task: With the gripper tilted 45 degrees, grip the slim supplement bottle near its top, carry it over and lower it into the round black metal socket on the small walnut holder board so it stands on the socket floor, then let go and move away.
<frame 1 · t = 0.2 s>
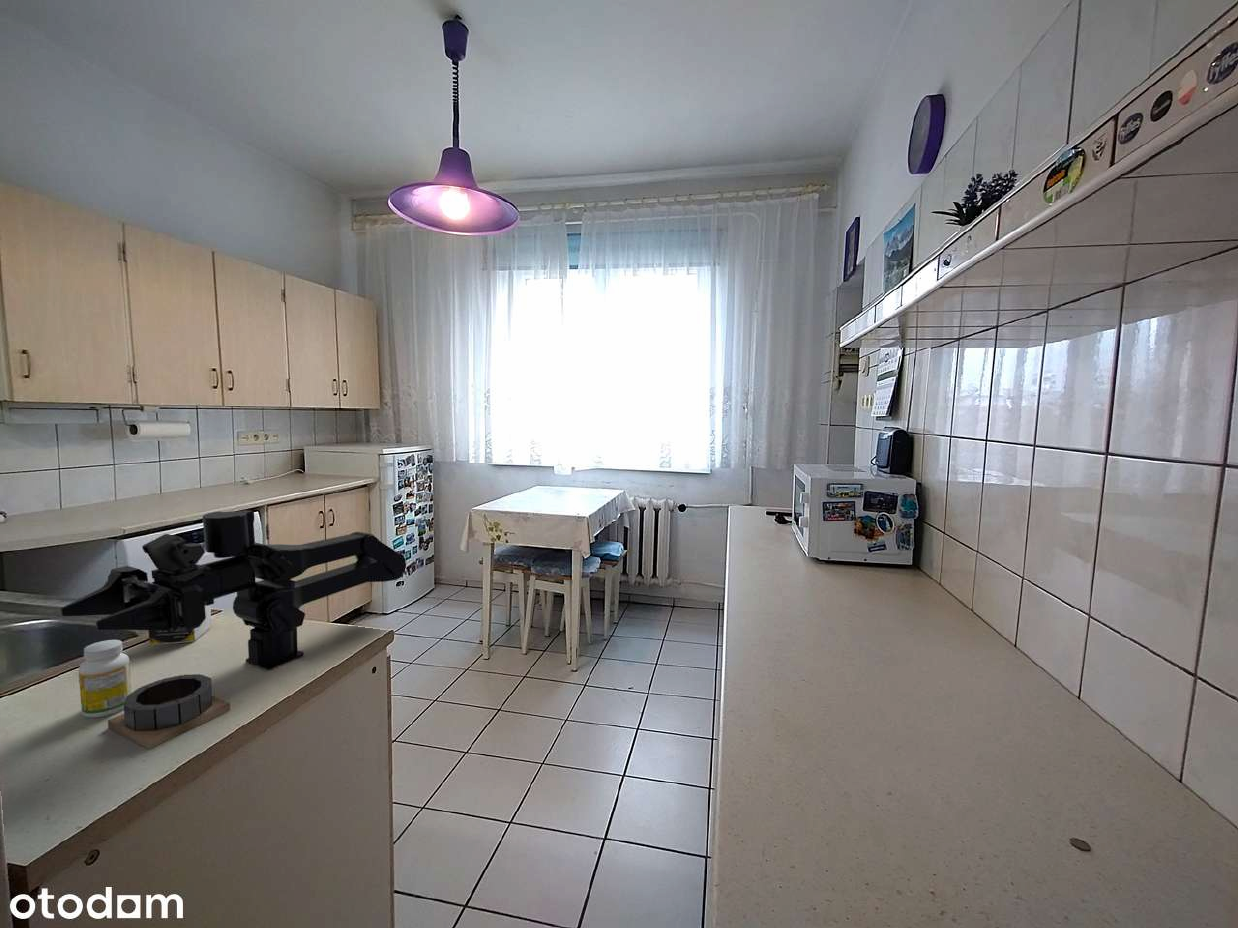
hand: (78, 618, 70), 17 cm above the countertop, tool horizontal, fingers open, 9 cm apart
supplement bottle: (107, 709, 79), on the countertop
socket holder: (171, 718, 76), on the countertop
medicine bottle: (181, 637, 102), on the countertop
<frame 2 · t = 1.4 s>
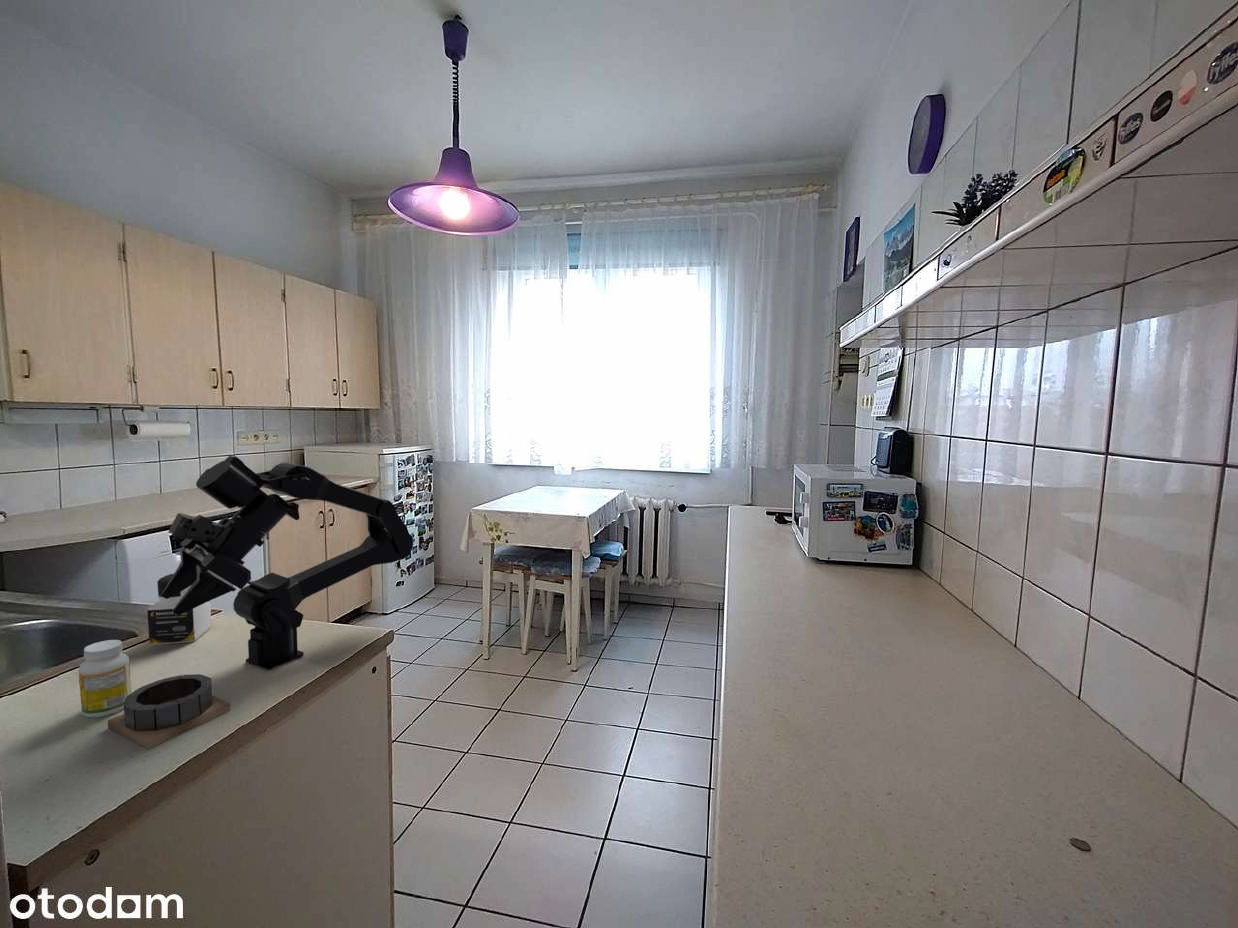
hand: (169, 605, 83), 14 cm above the countertop, tool tilted 45°, fingers open, 9 cm apart
nothing on the countertop moved.
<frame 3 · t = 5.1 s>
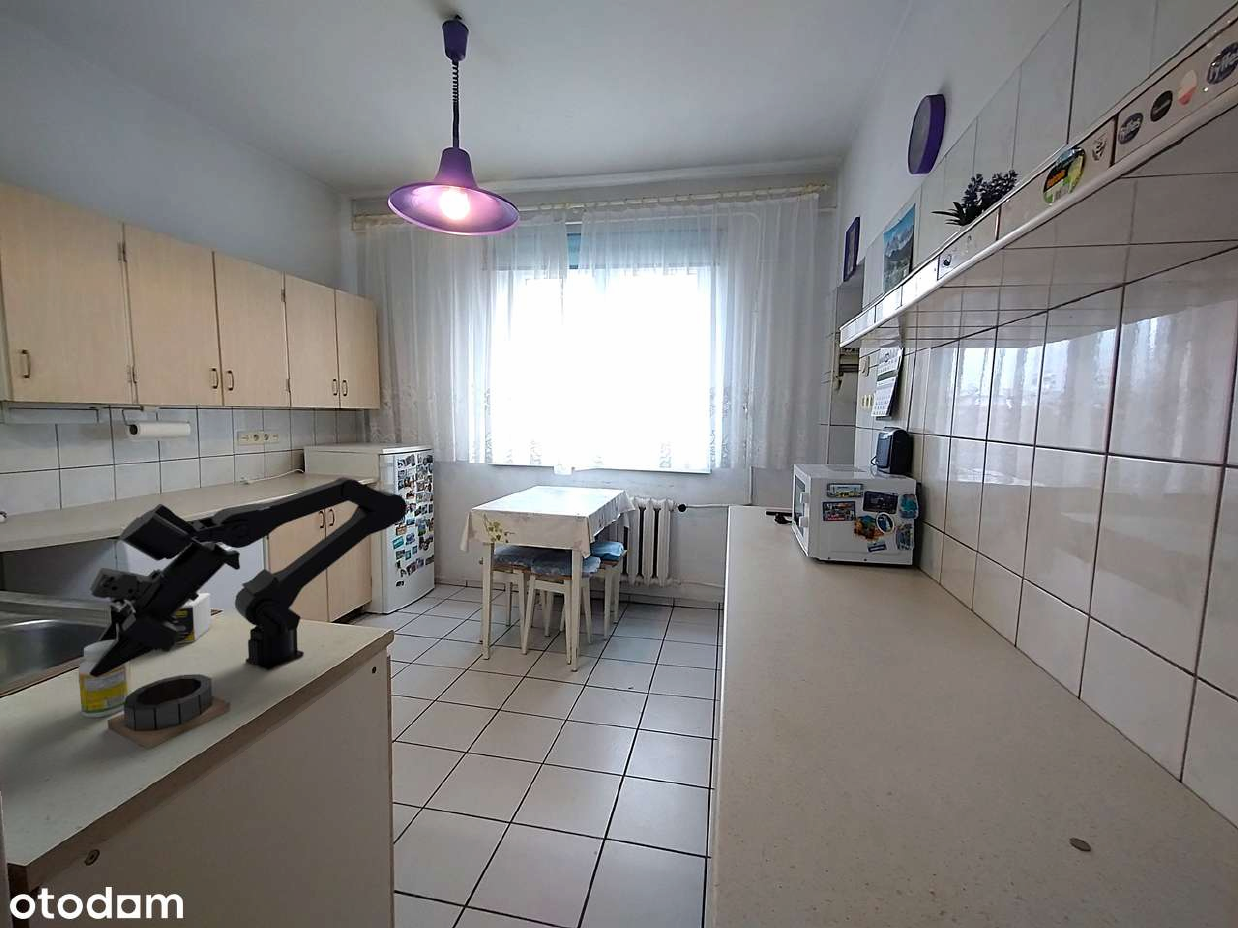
hand: (90, 668, 77), 7 cm above the countertop, tool tilted 45°, fingers closed on supplement bottle, 5 cm apart
supplement bottle: (107, 709, 79), on the countertop, touching gripper
everything else where it was.
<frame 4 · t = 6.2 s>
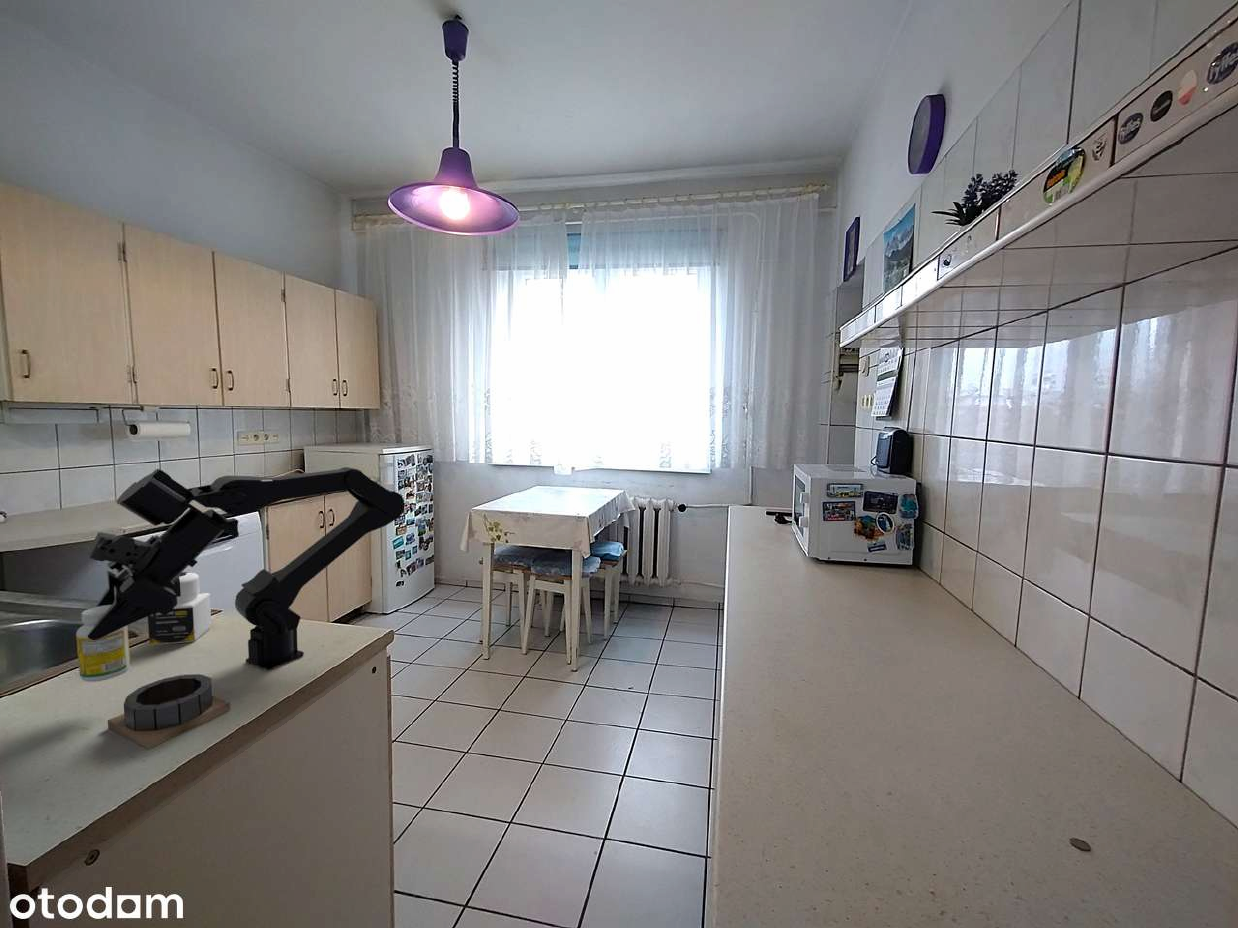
hand: (88, 632, 76), 12 cm above the countertop, tool tilted 45°, fingers closed on supplement bottle, 5 cm apart
supplement bottle: (105, 674, 78), point 5 cm above the countertop, touching gripper
everything else where it was.
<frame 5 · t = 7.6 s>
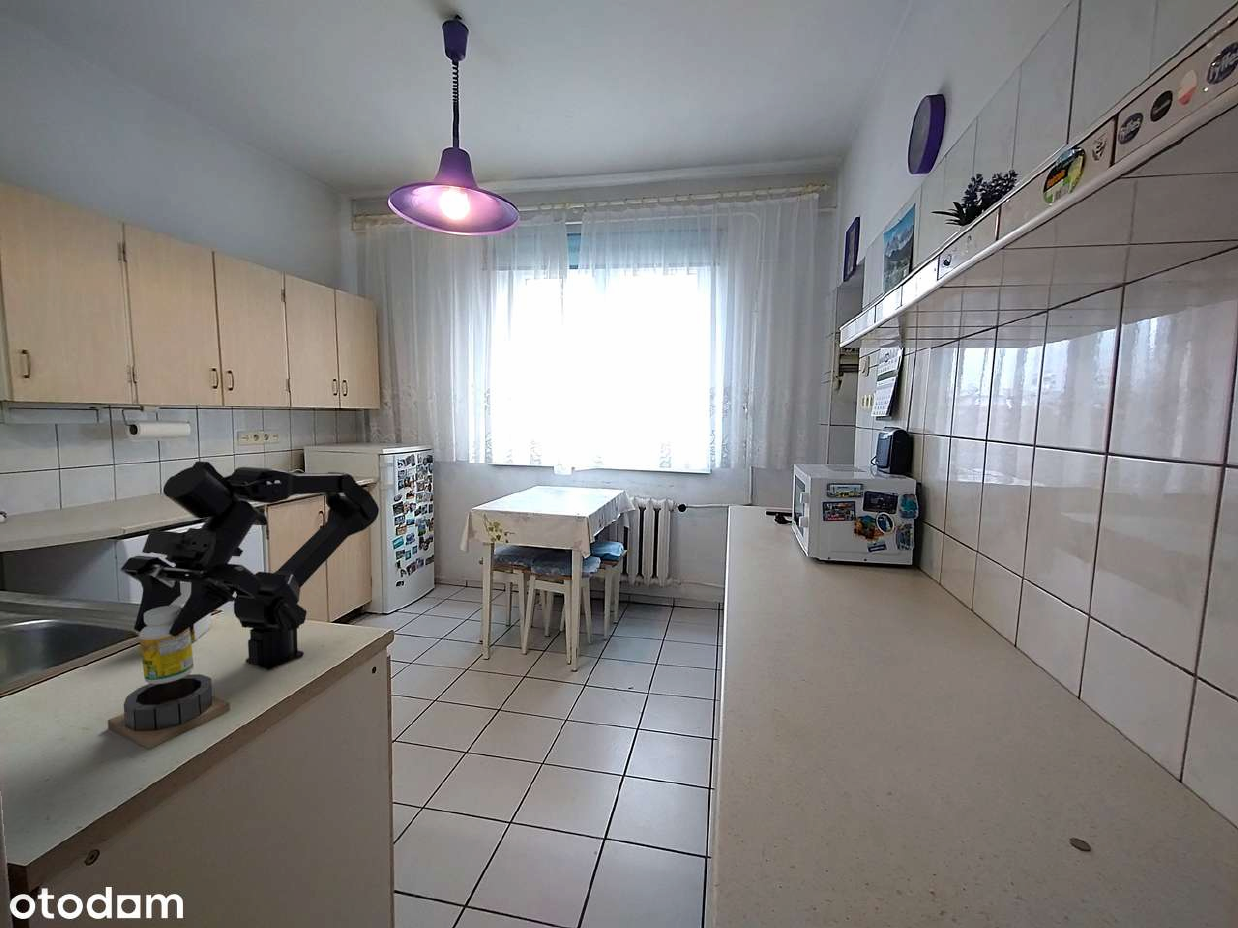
hand: (154, 633, 74), 13 cm above the countertop, tool tilted 45°, fingers closed on supplement bottle, 5 cm apart
supplement bottle: (170, 676, 76), point 6 cm above the countertop, touching gripper
everything else where it was.
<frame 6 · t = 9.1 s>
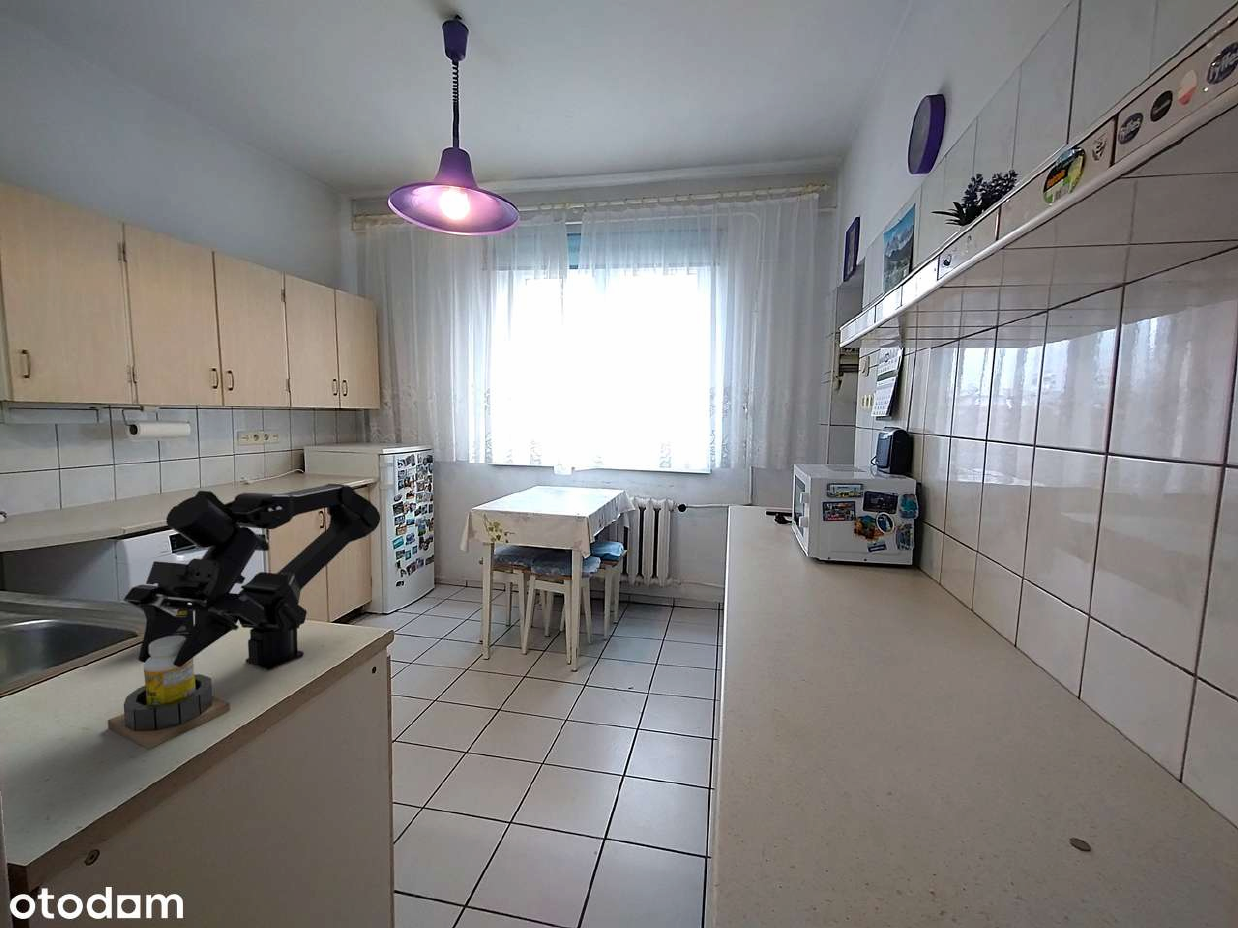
hand: (159, 663, 74), 9 cm above the countertop, tool tilted 45°, fingers closed on supplement bottle, 5 cm apart
supplement bottle: (172, 706, 77), point 2 cm above the countertop, touching gripper
everything else where it was.
when the fingers open (9 cm above the countertop, at t = 10.3 s): supplement bottle stays where it is, resting on socket holder.
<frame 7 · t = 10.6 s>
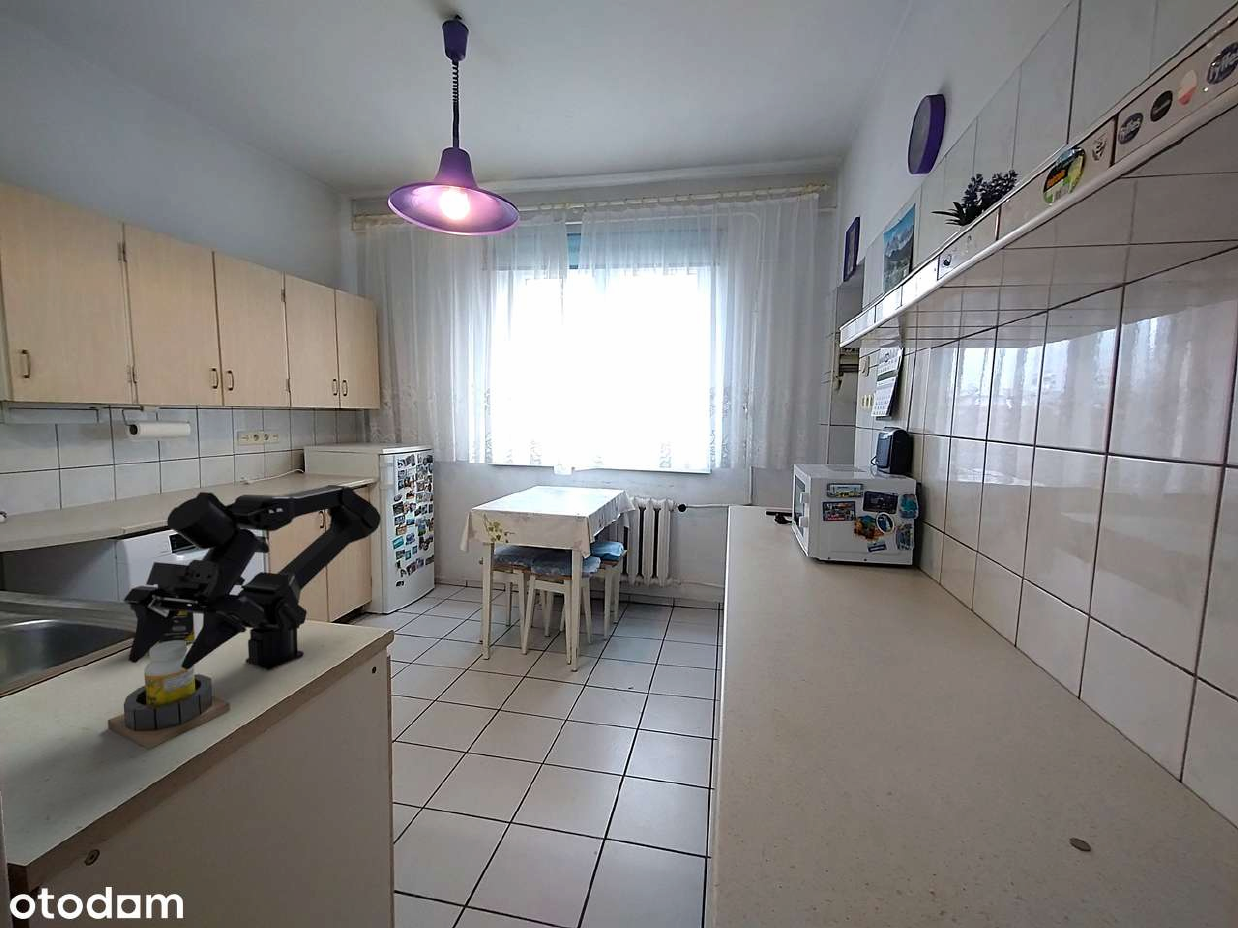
hand: (157, 664, 74), 9 cm above the countertop, tool tilted 45°, fingers open, 8 cm apart
supplement bottle: (172, 711, 77), point 1 cm above the countertop, touching socket holder
everything else where it was.
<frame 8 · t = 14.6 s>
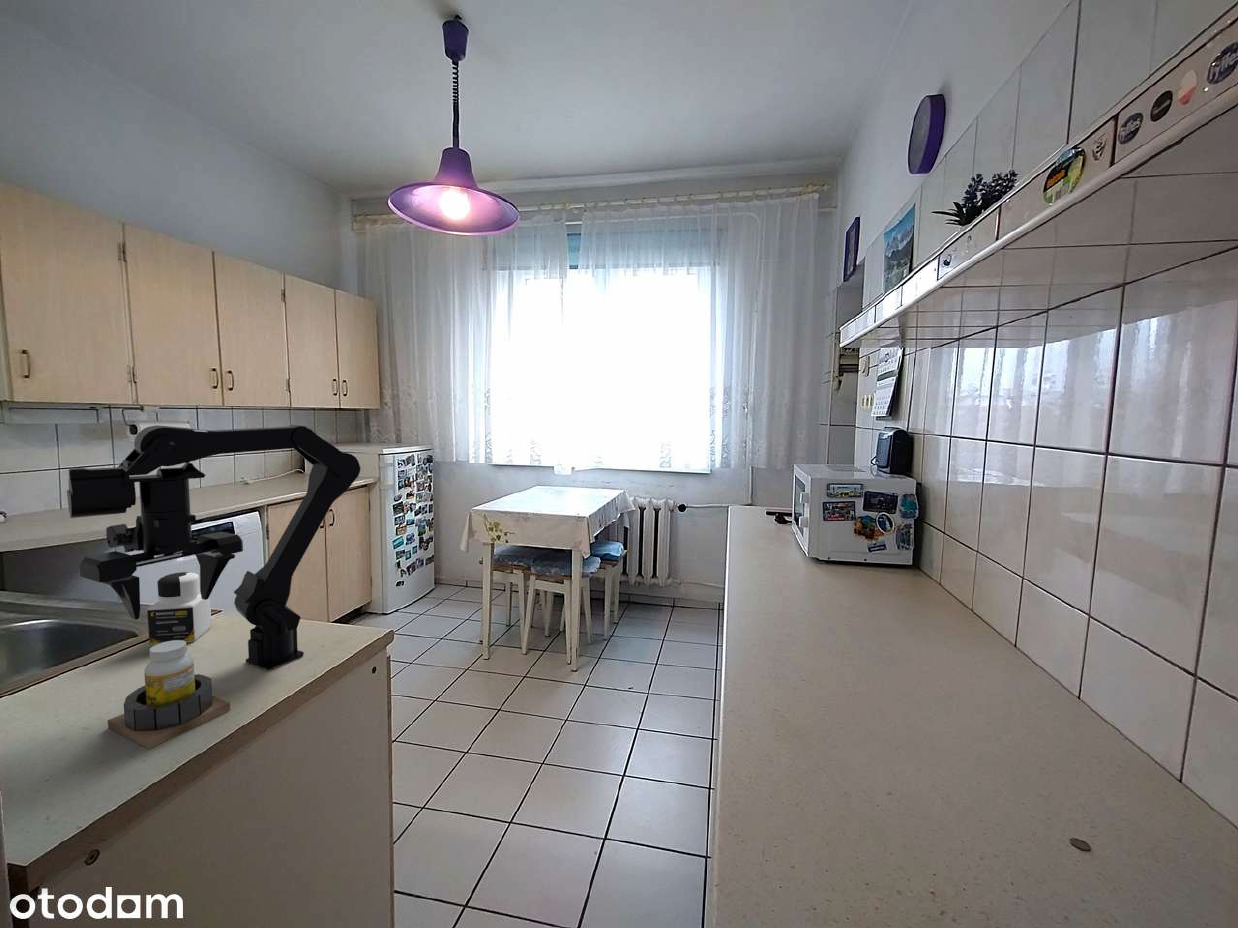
hand: (171, 608, 83), 13 cm above the countertop, tool pointing down, fingers open, 9 cm apart
nothing on the countertop moved.
at the end: supplement bottle 0.2 cm off-centre on the socket holder, point 1.0 cm above the socket holder's base; supplement bottle tilted 0°; the gripper is holding nothing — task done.
